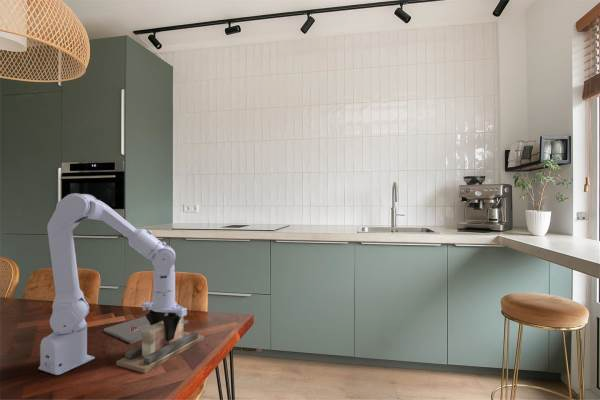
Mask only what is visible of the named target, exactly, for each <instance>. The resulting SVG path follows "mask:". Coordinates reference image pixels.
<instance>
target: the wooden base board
mask: <svg viewBox="0 0 600 400" xmlns="http://www.w3.org/2000/svg"><path fill="white" fill-rule="evenodd" d="M205 339H206V338H205V335H202V334H199V332H195V331H192V332H187V331H184V337H182V338H180V339H178V340H176V341H174V342H173V343H171V344H169V345H167V346H165V347H163V348H161V349H159V350H157V351H155V352H153V353H151V354H149V355H147V356H142V344H141V345H139V346H137V347H135V348H132V349H130V350H128V351H126V352H125V353H124V355H125V356H124V357H123V358H121V359H120V358H119V360H116V366H118V367H122V368H124V369H129V370H132V371H136V372H138V373H139V372H140V373H142V374H146V373H147V372H150V371H151V370H153V369H155V368H156V367H158V366H161V365H162V364H163V363H165V362H167V361H169V360H171V359H172V358H174V357H176V356H178V355H179V354H181V353H183V352H185V351H186V350H188V349H190V348H192V347H193V346H195V345H197V344H199V343H201V342H203V341H204V340H205Z"/></svg>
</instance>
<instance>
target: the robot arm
mask: <svg viewBox="0 0 600 400" xmlns="http://www.w3.org/2000/svg"><path fill="white" fill-rule="evenodd" d="M86 219H88V220H95V221H103V222H104V223H105V224H107V225H108V226H109V227H111V228H112V229H114V230H115V231H117V232H118V233H120V234H121V235H123V236H124V237H126V238H127V239H128V245H129V246H130V247H131V248H132V249H134V250H135V251H136V252H138V253H139V254H140V255H142V256H143V257H144V258H146V259H147V260H151V264H152V266H153V276H152V278H153V280H152V283H153V285H152V290H153V291H152V295H153V296H152V297H153V299H152V301H146V302H143V303H142V311H149V313H146V314H145V316H146V318H147V319H148V321H149V323H150V325H153V324H156V323H158V322H161V321H163V322H164V325H165V331H166V340H167V341H170V340H172V339H174V335H175V332H176V328H177V325H178V323H179V321H180V319H181V317H186V316H187V315H188V309H187V307H183V306H182V305H179V304H178V302H177V301H176V272H175V270H176V268H175V267H176V266H175V261H176V252H175V249H173V248H172V247H171V246H170V245H167V243H166V242H165V241H161V240H159V238H157V237H156V236H154V235H153V231H152V230H150V229H148V230H146V229H145V228H136V227H135V226H134V225H132V223H130V222H129V221H127V220H126V219H125V218H124V217H122V216H121V215H120V214H119V213H118V212H117V211H115V210H114V209H113V208H112V207H110V206H109V205H108V204H106V203H105V202H103V201H101V199H97V198H96V196H94V195H92V194H89V193H76V192H75V193H74V192H73V193H70V194H69V193H68V194H67V195H66V196H64V197H63V198H62V199H60V200H59V201H58V202H57V203H56V206H55V210H54V212H53V213H52V216H51V218H50V219H49V221H48V223H47V227H46V229H47V236H48V245H49V253H50V260H51V266H52V267H51V269H52V275H53V285H54V290H55V291H54V292H55V295H54V299H53V302H52V305H51V307H52V313H51V315H50V318H49V325H50V328H51V330H53V332H51V333H50V334H49V335H47V336H45V337H43V338H42V339H41V340H40V341H41V342H40V346H39V349H40V351H39V353H40V354H39V355H40V356H39V361H40V362H39V364H40V365H39V366H38V368H37V369H38V370H40V371H44V372H46V373H50V374H52V375H55V376H58V375H59V376H60V375H61V374H65V373H67V372H68V371H70V370H72V369H73V370H74V369H75V368H78V367H80V366H82V365H84V364H86V363H89V362H91V361H93V360H95V359H96V357H95V356H93V355H89V354H88V353H87V352H88V324H87V323H88V322H86V319H85V318H86V317H87V316H88V314H89V313H90V306H89V303H88V302H87V301H86V299H85V296H84V295H85V294H84V292H83V291H82V289H81V288H80V281H79V271H78V266H77V255H76V249H75V241H74V233H73V231H74V229H75V228H76V227H78V225H79V224H80V223H81V222H83V221H84V220H86ZM165 313H166V314H168V315H167V316H165Z"/></svg>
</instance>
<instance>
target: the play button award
mask: <svg viewBox="0 0 600 400" xmlns="http://www.w3.org/2000/svg"><path fill="white" fill-rule="evenodd" d="M167 315H168V314H167V313H165V316H167ZM186 323H187V324H188V323H189V320H187V319H185V318H184V324H185V325H187V324H186ZM149 326H151V325H150V323H149V321H148V319H147V318H146V315H144V316H141V317H138V318H134V319H132V320H129V321H124V322H121V323H118V324H114V325H111V326H108V327H105V328H104V327H103V332H104V333H107V334H109V335H111V336H113V337H114V338H116V339H117V338H118V339H119V338H120V339H119V340H121V341H123V342H124V341H125V342H126V343H128V344H134V343H136V342H139V341H142V329H144V328H146V327H149ZM131 327H137V329H136V330H135V329H134V331H132V332H131ZM142 327H143V328H142ZM139 328H140V329H139Z"/></svg>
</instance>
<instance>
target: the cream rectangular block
mask: <svg viewBox="0 0 600 400" xmlns="http://www.w3.org/2000/svg"><path fill="white" fill-rule="evenodd" d="M184 317H185V316H183V317H181V319H180V321H179V323H178V325H177V328H176V332H175V335H174V339H172V340H170V341H167V340H166V331H165V325H164V322H163V321H161V322H158V323H156V324H153V325H151V326H149V327H146V328H144V329H142V340H141V345H142V356H147V355H149V354H151V353H153V352H155V351H157V350H159V349H161V348H163V347H165V346H167V345H169V344H171V343H173V342H174V341H176V340H178V339H180V338H182V337H184V332H185V330H184V326H185V325H184V319H185V318H184Z"/></svg>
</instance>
